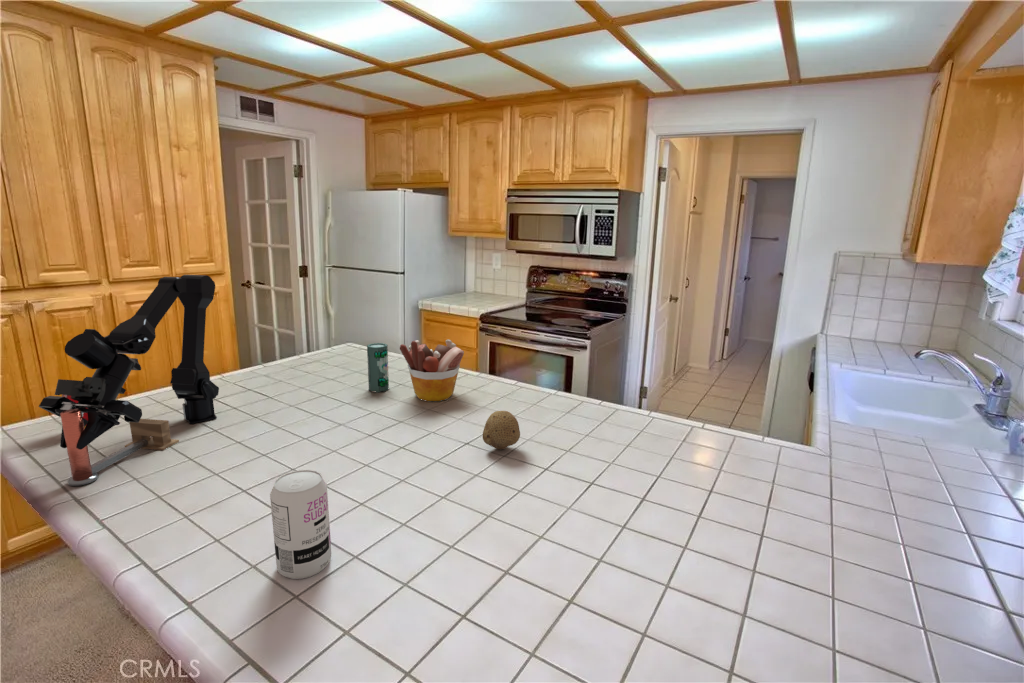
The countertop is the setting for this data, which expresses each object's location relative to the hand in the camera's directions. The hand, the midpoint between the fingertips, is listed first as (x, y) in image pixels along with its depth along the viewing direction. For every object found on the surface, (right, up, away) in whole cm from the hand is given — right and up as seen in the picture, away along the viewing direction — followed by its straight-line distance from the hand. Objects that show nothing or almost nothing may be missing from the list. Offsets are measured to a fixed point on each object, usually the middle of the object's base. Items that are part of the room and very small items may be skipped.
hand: (70, 448), depth 102 cm
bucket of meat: (+64, +4, +60) cm, 87 cm away
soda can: (-20, -2, +27) cm, 34 cm away
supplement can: (+56, -15, -20) cm, 61 cm away
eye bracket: (+2, -3, +21) cm, 21 cm away
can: (+45, +6, +65) cm, 80 cm away
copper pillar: (+1, -6, +10) cm, 11 cm away
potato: (+87, -5, +24) cm, 90 cm away
